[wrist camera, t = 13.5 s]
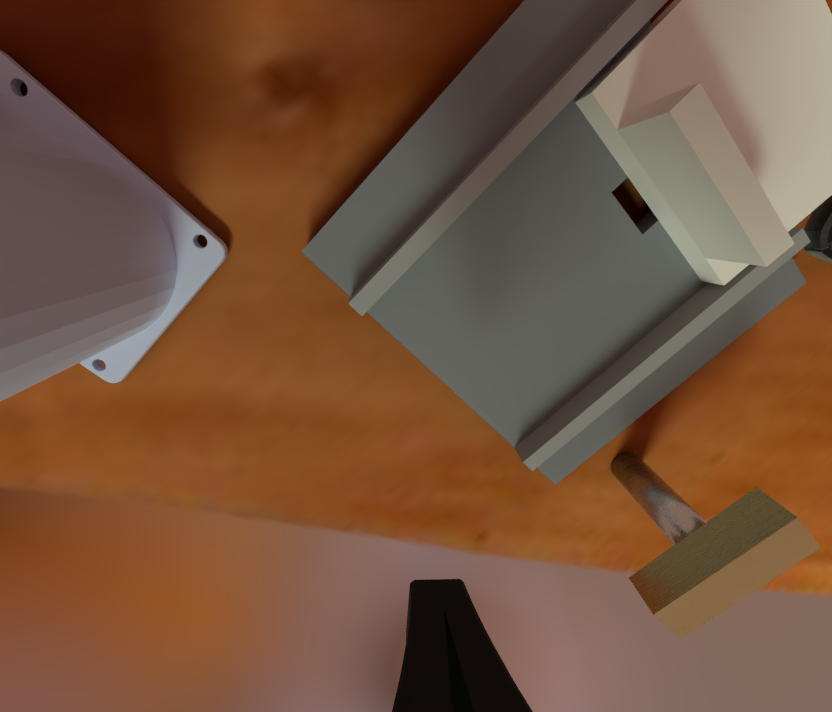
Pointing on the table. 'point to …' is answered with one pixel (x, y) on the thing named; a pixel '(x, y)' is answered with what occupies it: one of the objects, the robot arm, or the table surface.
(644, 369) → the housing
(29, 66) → the table surface
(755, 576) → the hammer
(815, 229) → the phone
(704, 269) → the cover
